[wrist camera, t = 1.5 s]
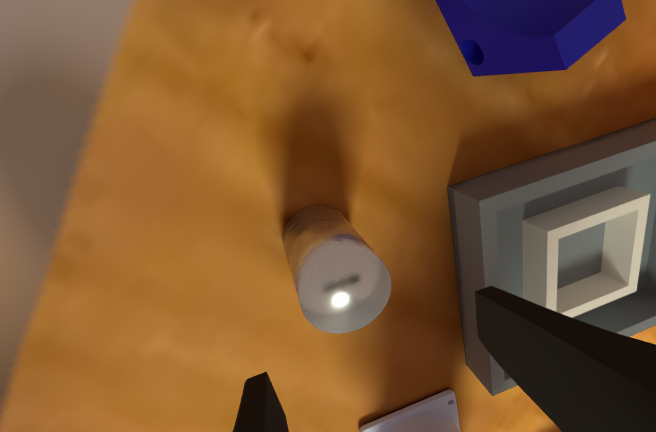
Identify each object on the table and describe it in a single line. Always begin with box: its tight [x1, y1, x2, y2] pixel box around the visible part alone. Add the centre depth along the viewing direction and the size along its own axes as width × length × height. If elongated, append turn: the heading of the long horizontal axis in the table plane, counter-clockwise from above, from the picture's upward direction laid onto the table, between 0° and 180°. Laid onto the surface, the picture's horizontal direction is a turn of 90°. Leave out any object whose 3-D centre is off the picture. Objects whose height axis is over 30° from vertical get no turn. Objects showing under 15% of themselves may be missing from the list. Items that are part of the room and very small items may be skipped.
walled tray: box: [447, 118, 656, 396], centre depth 23 cm, size 15×17×3 cm
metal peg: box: [283, 205, 391, 333], centre depth 17 cm, size 4×4×6 cm
